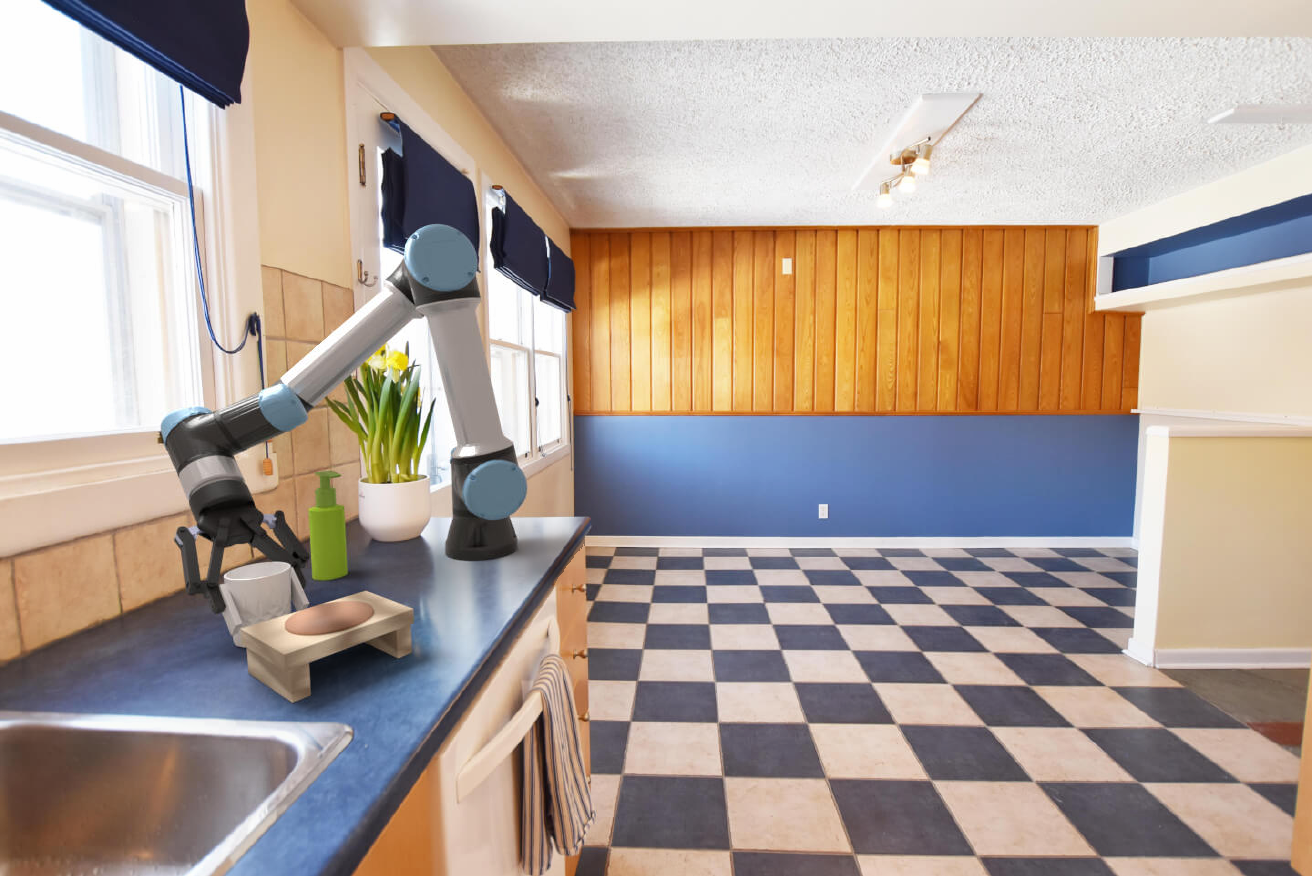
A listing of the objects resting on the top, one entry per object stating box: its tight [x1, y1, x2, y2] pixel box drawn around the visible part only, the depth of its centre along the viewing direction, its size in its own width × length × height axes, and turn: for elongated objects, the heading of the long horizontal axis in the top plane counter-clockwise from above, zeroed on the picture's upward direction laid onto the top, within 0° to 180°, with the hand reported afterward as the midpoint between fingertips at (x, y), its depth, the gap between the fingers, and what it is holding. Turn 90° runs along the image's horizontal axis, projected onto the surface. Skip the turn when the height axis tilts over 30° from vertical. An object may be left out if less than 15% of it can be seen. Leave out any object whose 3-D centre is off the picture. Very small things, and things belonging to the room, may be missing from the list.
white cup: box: [223, 561, 292, 649], centre depth 83 cm, size 8×8×10 cm
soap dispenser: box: [307, 470, 349, 581], centre depth 109 cm, size 6×7×20 cm
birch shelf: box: [241, 590, 415, 704], centre depth 76 cm, size 16×12×6 cm
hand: (271, 618), depth 81 cm, fingers closed on white cup, 8 cm apart
